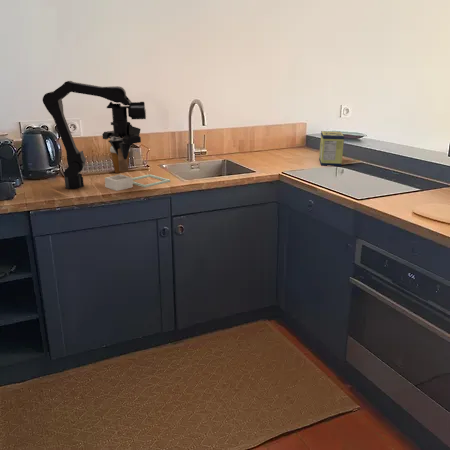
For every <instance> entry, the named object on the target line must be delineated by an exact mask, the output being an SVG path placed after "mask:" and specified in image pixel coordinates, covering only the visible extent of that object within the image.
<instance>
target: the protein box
mask: <svg viewBox="0 0 450 450" xmlns="http://www.w3.org/2000/svg"><path fill="white" fill-rule="evenodd" d="M344 145H345V135H344V134H343V133H342V132H341V131H331V130H330V131H329V130H328V131H327V130H326V131H325V130H324V131H323V130H321V132H320V143H319V154H318V155H319V157H318V161H319V163H320V165H321V166H322V167H328V166H327V165H334V166H333V167H342V163H343V153H344Z"/></svg>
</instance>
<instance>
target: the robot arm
mask: <svg viewBox="0 0 450 450" xmlns="http://www.w3.org/2000/svg"><path fill="white" fill-rule="evenodd" d="M126 92H127V91H126V90H125V89H124V87H122V86H98V85H94V84H87V83H82V82H75V81H73V80H67V81H65V82H64V83H63V84H62V85H60V86H59V87H57V88H56V89H54V90H53V91H49V92H45V94H44V95H43V96H42V102H43V105H44V107H45V108H46V110H47V112H48V113H49V114H50V115H51V117H52V118H53V121H54V124H55V126H56V128H57V131H58V134H59V136H60V139H61V141H62V142H61V143H62V144H63V147H64V149H65V152H66V162H67V166H68V167H66V168H65V170H64V171H62V174H63V177H64V186H65V189H67V190H78V189H81V188H83V187H84V186H85V185H84V177H83V174H82V173H81V172H82V170H83V169H84V168H85V166H86V161H87V158H86V157H85V153H84V150H81V151H80V150H79V149H78V147H77V146H76V142H75V141H74V138H73V135H72V133H71V130H70V128H69V125H68V122H67V118H66V117H65V113H64V103H63V99H64V98H65V97H67V96H68V95H69V94H70V93H76V94H81V95H89V96H94V97H99V98H103V99H106V100H108V101H110V102H109V104H108V105H107V106H106V109H111V115H112V121H111V122H110V126H112V127H113V128H112V129H113V130H108V131H103V133H102V135H101V136H102V139H103V140H108V139H109V140H108V143H109V144H110V145H111V146H112V147H113V148H114V150H115V152H116V154H117V155H118V148H121V151H122V154H123V157H124V159H127V157H128V153H129V154H130V152H129V149H130V150H131V146H132V145H134V144H138V143H142V138H141V136H140V133H141V128H140V127H136V126H133V125H132V124H131V122H130V121H128V117H129V118H131V120H147V119H146V118H147V112H146V111H147V109H146V106H145V101H137V102H135V101H134V102H132V101H131V99H130V98H129V97H128V96H127V93H126ZM121 104H122V105H121Z"/></svg>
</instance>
